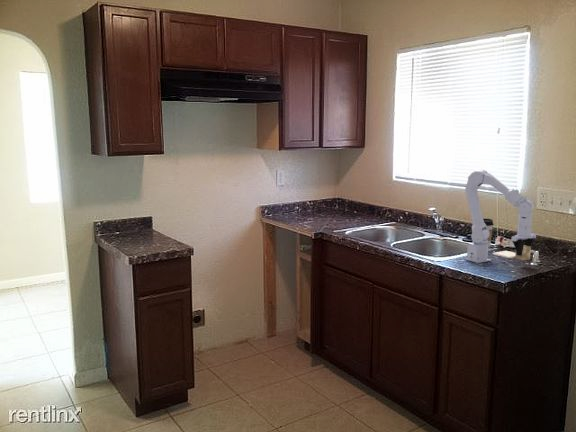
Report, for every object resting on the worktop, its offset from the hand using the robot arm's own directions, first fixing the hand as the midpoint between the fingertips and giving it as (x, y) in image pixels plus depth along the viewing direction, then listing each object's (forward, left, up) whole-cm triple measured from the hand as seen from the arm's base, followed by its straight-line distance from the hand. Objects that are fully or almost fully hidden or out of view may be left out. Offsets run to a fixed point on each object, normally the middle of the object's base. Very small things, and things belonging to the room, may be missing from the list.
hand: (522, 254), depth 238 cm
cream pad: (+12, +18, -6) cm, 22 cm away
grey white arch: (+10, +4, -6) cm, 12 cm away
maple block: (0, 0, -2) cm, 2 cm away
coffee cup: (+18, +38, -6) cm, 42 cm away
